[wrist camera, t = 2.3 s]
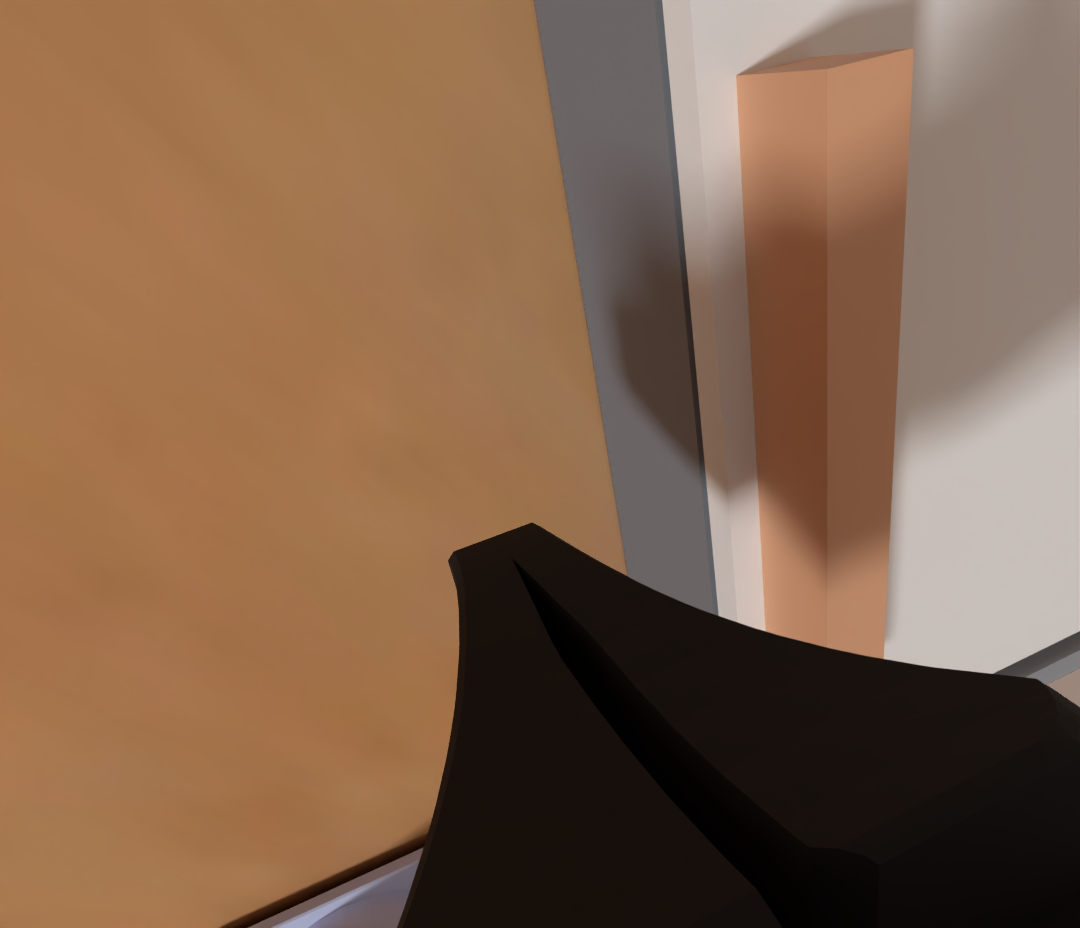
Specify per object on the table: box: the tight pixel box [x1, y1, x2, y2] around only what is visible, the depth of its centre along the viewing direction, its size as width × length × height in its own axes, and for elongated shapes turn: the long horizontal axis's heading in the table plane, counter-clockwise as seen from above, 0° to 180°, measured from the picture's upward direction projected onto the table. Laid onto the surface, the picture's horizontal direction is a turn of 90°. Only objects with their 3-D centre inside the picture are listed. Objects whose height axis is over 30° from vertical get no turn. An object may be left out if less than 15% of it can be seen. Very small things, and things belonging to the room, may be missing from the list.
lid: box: [662, 0, 1080, 674], centre depth 14 cm, size 17×12×2 cm
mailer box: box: [534, 0, 1080, 685], centre depth 16 cm, size 19×12×6 cm, turn 11°
